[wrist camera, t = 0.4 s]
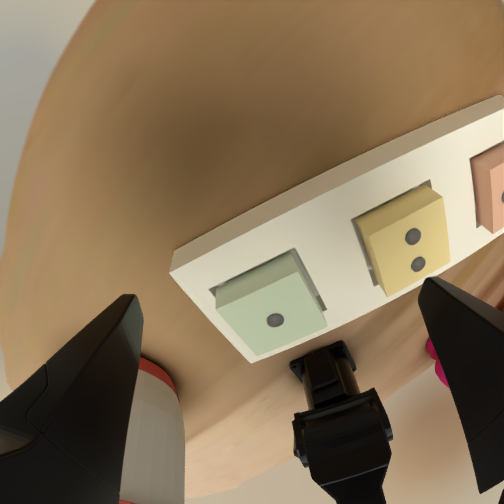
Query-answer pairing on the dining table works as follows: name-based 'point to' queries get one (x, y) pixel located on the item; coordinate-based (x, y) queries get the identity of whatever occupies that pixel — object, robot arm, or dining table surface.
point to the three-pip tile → (489, 188)
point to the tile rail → (347, 221)
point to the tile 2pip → (406, 239)
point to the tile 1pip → (270, 305)
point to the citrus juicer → (154, 442)
